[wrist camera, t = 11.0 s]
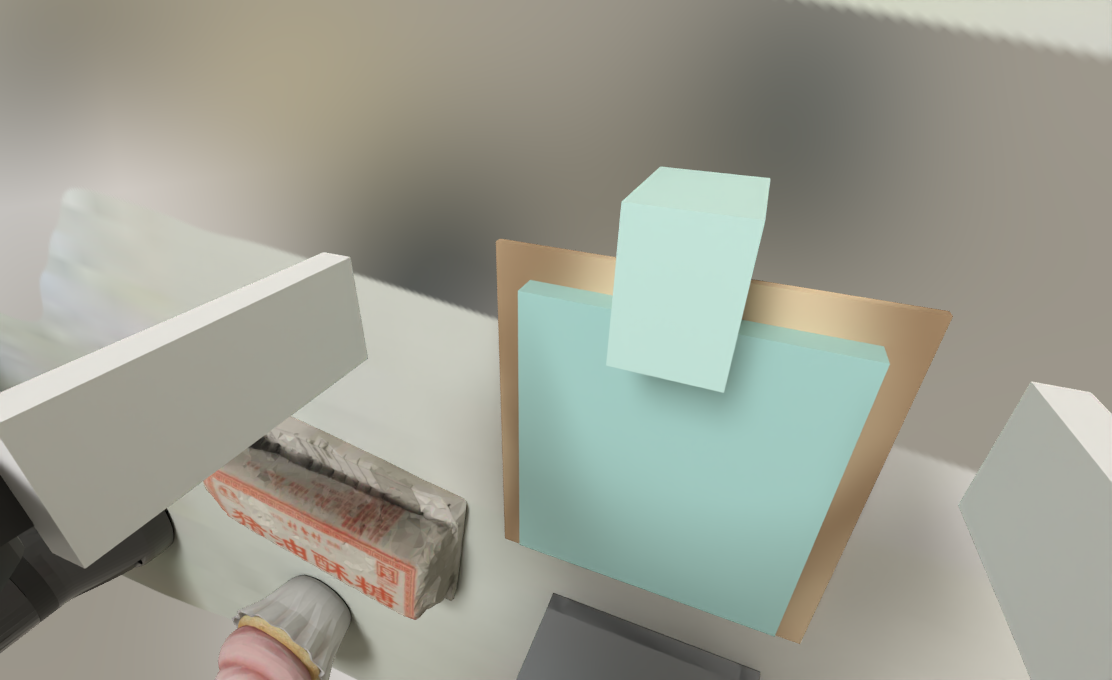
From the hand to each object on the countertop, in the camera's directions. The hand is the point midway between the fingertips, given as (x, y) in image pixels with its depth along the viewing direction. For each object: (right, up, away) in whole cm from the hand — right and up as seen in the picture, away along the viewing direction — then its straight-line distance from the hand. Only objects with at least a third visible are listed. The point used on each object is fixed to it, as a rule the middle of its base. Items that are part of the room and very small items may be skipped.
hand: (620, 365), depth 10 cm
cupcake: (-21, -22, +34) cm, 46 cm away
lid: (+4, -3, +11) cm, 12 cm away
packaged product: (-15, -10, +25) cm, 31 cm away
